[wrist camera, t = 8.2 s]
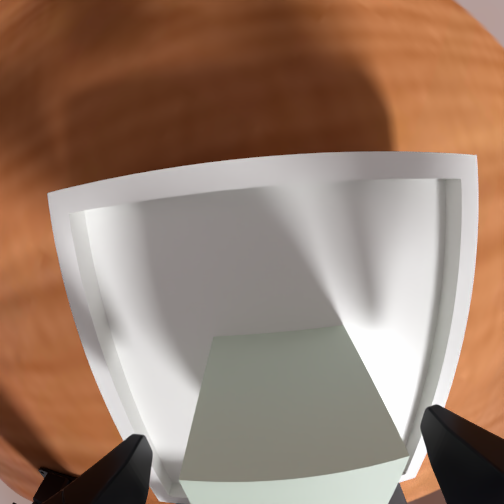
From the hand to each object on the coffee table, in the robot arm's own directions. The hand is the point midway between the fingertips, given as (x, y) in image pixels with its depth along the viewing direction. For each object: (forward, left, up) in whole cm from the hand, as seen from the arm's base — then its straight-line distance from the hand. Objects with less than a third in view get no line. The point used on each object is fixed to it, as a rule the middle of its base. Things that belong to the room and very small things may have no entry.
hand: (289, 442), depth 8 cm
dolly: (0, 0, -7) cm, 7 cm away
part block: (0, 0, -3) cm, 3 cm away
